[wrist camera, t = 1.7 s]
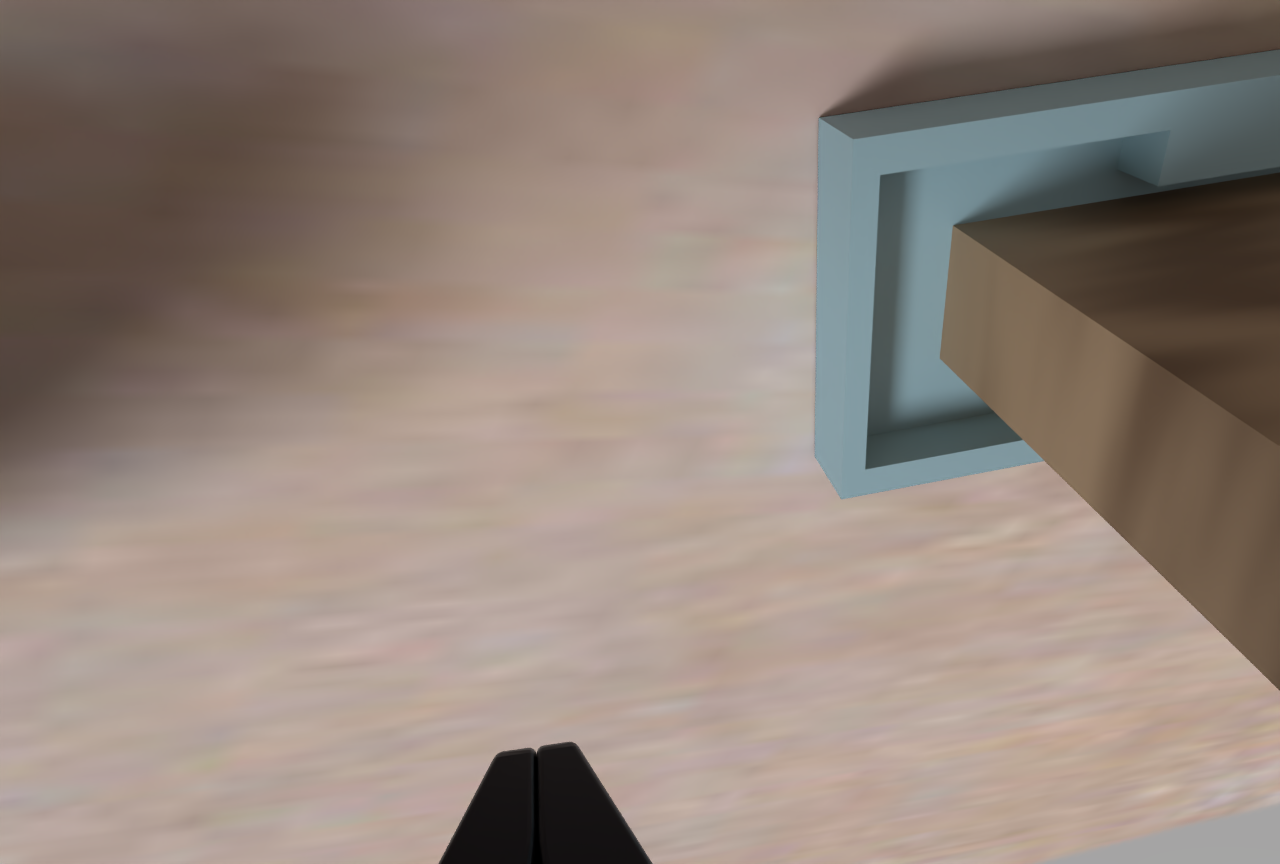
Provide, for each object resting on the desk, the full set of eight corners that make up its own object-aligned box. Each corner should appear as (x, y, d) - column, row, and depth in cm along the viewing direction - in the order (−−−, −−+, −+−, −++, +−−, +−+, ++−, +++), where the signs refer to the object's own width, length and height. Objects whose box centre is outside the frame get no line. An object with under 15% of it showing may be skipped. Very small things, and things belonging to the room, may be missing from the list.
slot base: (815, 456, 24) (865, 538, 21) (818, 117, 19) (885, 160, 16) (1497, 330, 25) (1635, 388, 22) (1662, -8, 21) (1867, 8, 18)
